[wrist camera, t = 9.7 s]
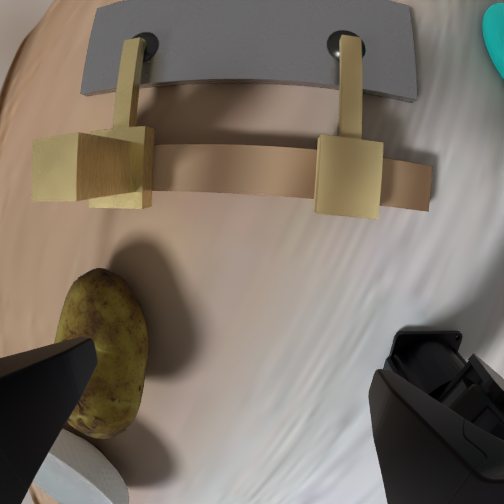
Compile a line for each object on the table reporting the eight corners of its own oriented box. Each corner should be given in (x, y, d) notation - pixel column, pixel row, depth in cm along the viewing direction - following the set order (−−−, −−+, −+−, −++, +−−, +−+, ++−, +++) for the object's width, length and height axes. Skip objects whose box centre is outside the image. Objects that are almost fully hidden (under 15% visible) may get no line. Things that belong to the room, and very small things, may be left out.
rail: (421, 62, 17) (440, 47, 14) (418, 218, 20) (439, 226, 16) (83, 59, 19) (60, 48, 16) (72, 198, 22) (46, 203, 18)
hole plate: (404, 11, 16) (409, 5, 15) (411, 102, 18) (417, 99, 17) (102, 12, 18) (96, 7, 17) (87, 96, 20) (79, 93, 18)
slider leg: (167, 36, 17) (115, -19, 9) (154, 205, 20) (85, 224, 12) (117, 44, 17) (53, 2, 10) (104, 204, 20) (26, 221, 12)
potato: (191, 302, 23) (150, 360, 15) (144, 407, 26) (111, 465, 18) (99, 250, 22) (32, 282, 15) (73, 363, 26) (27, 409, 18)
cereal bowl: (36, 380, 27) (1, 413, 20) (157, 460, 28) (137, 506, 21) (33, 442, 32) (11, 469, 25) (125, 501, 32) (110, 534, 25)
